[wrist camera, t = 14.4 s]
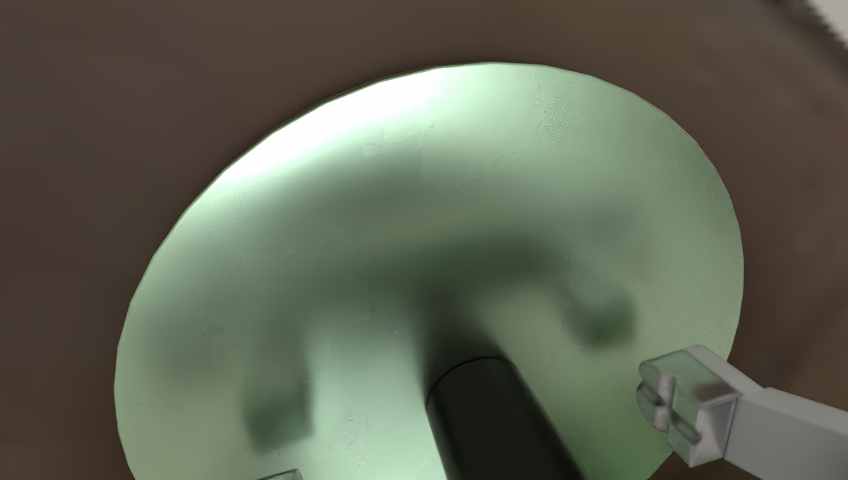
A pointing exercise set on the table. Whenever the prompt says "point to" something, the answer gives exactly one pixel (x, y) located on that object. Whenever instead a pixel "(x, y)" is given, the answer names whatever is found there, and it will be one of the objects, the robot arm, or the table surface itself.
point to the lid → (432, 287)
